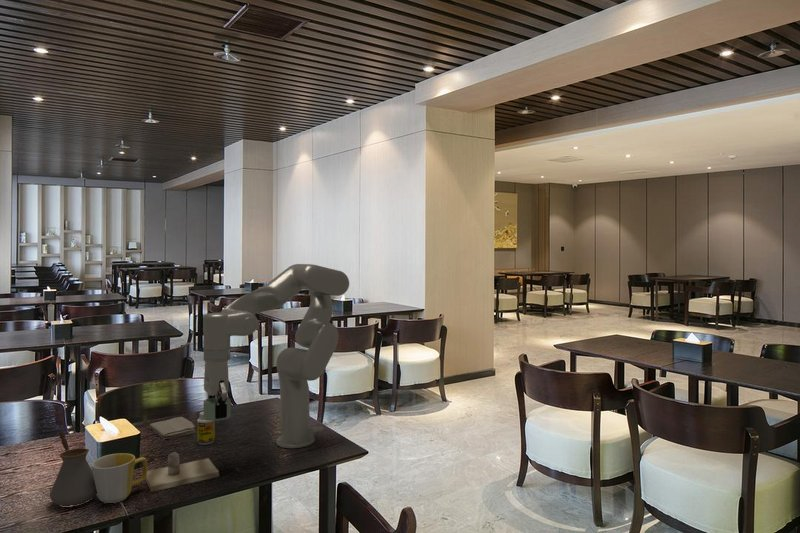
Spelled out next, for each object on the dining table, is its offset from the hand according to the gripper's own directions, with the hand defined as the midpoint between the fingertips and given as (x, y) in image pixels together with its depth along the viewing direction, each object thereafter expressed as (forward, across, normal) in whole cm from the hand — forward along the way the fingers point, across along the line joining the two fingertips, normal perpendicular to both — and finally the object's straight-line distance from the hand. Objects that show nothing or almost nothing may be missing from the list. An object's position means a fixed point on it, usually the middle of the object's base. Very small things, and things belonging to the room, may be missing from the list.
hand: (217, 414), depth 168 cm
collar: (+1, 0, 0) cm, 1 cm away
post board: (+17, 0, -10) cm, 19 cm away
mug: (+17, +4, -26) cm, 32 cm away
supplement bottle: (+16, -25, +3) cm, 30 cm away
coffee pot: (+17, -5, -37) cm, 41 cm away
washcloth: (+17, -45, -4) cm, 48 cm away
